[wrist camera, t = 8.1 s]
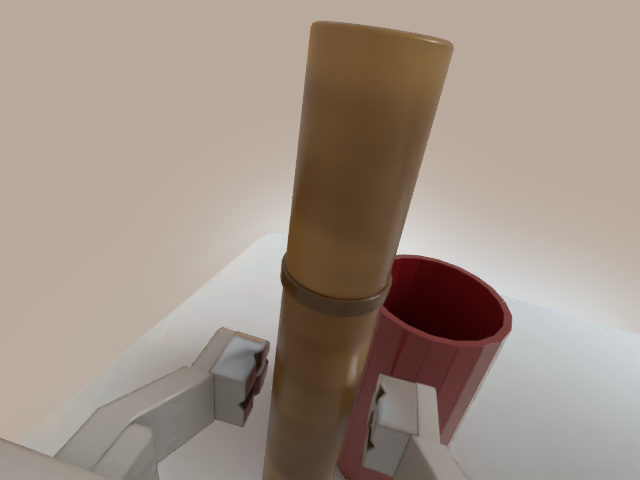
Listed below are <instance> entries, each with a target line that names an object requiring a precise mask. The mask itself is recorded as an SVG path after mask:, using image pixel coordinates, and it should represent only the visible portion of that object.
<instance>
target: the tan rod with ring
mask: <svg viewBox="0 0 640 480" xmlns="http://www.w3.org/2000/svg"><path fill="white" fill-rule="evenodd" d="M452 53H453V44H452V43H451V42H449V41H447V40H444V39H440V38H436V37H432V36H427V35H422V34H417V33H412V32H406V31H400V30H394V29H388V28H381V27H375V26H367V25H360V24H352V23H343V22H332V21H317V22H314V23H313V24H312V26H311V29H310V38H309V48H308V57H307V66H306V76H305V85H304V94H303V104H302V113H301V123H300V132H299V142H298V151H297V160H296V170H295V179H294V189H293V198H292V207H291V217H290V226H289V235H288V244H287V252H286V253H285V255H284V256H283V259H282V265H281V275H280V278H281V283H282V285H283V291H282V300H281V310H280V319H279V328H278V338H277V347H276V356H275V366H274V375H273V385H272V394H271V403H270V413H269V422H268V431H267V441H266V450H265V459H264V469H263V478H262V480H332V479H333V475H334V472H335V468H336V465H337V461H338V458H339V454H340V451H341V447H342V443H343V440H344V436H345V433H346V429H347V426H348V422H349V419H350V415H351V412H352V408H353V404H354V401H355V397H356V394H357V390H358V387H359V383H360V380H361V376H362V373H363V369H364V365H365V362H366V358H367V355H368V351H369V348H370V344H371V341H372V337H373V333H374V330H375V326H376V323H377V319H378V316H379V312H380V309H381V306H382V305H383V304H384V303H385V301H386V300H387V298H388V295H389V291H390V288H391V284H392V275H391V270H392V266H393V263H394V259H395V255H396V252H397V248H398V245H399V241H400V238H401V234H402V230H403V227H404V224H405V220H406V216H407V213H408V209H409V205H410V202H411V199H412V195H413V192H414V188H415V184H416V181H417V177H418V173H419V170H420V167H421V163H422V160H423V156H424V152H425V149H426V145H427V141H428V138H429V135H430V131H431V128H432V124H433V120H434V117H435V114H436V110H437V106H438V103H439V99H440V96H441V92H442V89H443V85H444V81H445V78H446V75H447V71H448V67H449V64H450V60H451V57H452Z"/></svg>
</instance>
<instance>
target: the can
mask: <svg viewBox="0 0 640 480" xmlns="http://www.w3.org/2000/svg"><path fill="white" fill-rule="evenodd" d="M391 275H392V284H391V288H390V291H389V295H388V298H387V300H386V301H385V303H384V304H383V305H382V306H381V309H380V312H379V316H378V319H377V323H376V326H375V330H374V333H373V337H372V341H371V344H370V348H369V351H368V355H367V358H366V362H365V365H364V369H363V373H362V376H361V380H360V383H359V387H358V390H357V394H356V397H355V401H354V404H353V408H352V412H351V415H350V419H349V422H348V426H347V429H346V433H345V436H344V440H343V443H342V447H341V451H340V454H339V458H338V461H337V466H338V468H339V469H340V471H341V472H342V473H343V474H344V476H345V477H346V478H347V479H348V480H393V478H394V477H392V476H389V475H386V474H383V473H380V472H378V471H375V470H372V469H369V468H366V467H364V466H362V460H363V451H364V443H365V439H366V436H367V433H368V428H367V420H368V413H369V408H370V404H371V400H372V396H373V393H374V392H375V391H376V386H377V380H378V377H379V375H380V373H384V374H388V375H392V376H395V377H399V378H403V379H406V380H410V381H414V382H415V383H416V382H417V383H421V384H424V385H428V386H431V387H434V388H435V390H436V395H437V409H438V422H439V435H440V444H443V445H446V446H447V448H448V449H449V447H450V445H451V443H452V441H453V439H454V437H455V435H456V434H457V432H458V430H459V428H460V426H461V424H462V422H463V420H464V418H465V417H466V415H467V413H468V411H469V409H470V407H471V405H472V403H473V402H474V400H475V398H476V396H477V394H478V392H479V390H480V388H481V387H482V385H483V383H484V381H485V379H486V377H487V375H488V373H489V371H490V370H491V368H492V366H493V364H494V362H495V360H496V358H497V356H498V355H499V353H500V351H501V349H502V347H503V345H504V343H505V341H506V339H507V338H508V336H509V334H510V332H511V328H512V315H511V313H510V311H509V309H508V306H507V304H506V302H505V301H504V300H503V299H502V298H501V297H500V295H499V294H498V293H497V292H496V291H495V290H494V289H493V288H492V287H491V286H489V285H488V284H487V283H485V282H484V281H482V280H481V279H480V278H478V277H477V276H475V275H473V274H471V273H470V272H468V271H466V270H464V269H462V268H460V267H457V266H455V265H452V264H449V263H447V262H444V261H441V260H438V259H434V258H429V257H424V256H419V255H395V259H394V263H393V266H392V270H391Z"/></svg>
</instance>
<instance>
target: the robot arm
mask: <svg viewBox="0 0 640 480" xmlns="http://www.w3.org/2000/svg"><path fill="white" fill-rule="evenodd" d="M269 350H270V342H269V341H267V340H263V339H260V338H257V337H254V336H250V335H247V334H244V333H241V332H237V331H234V330H230V329H227V328H224V327H222V328H220V329H219V330H217V332H216V333H215V334H214V336H213V337H212V339H211V340H210V341H209V343H208V344H207V345H206V347H205V348H204V349H203V351H202V352H201V354H200V355H199V356H198V358H197V359H196V360H195V362H194V363H193V364H192V366H191V367H188V366H184V367H182V368H180V369H178V370H176V371H174V372H172V373H170V374H168V375H166V376H164V377H162V378H160V379H158V380H156V381H153V382H151V383H149V384H147V385H145V386H143V387H141V388H139V389H137V390H135V391H133V392H131V393H129V394H127V395H125V396H123V397H120V398H118V399H116V400H114V401H112V402H110V403H108V404H106V405H104V406H102V407H100V408H98V409H97V410H96V411H95V412H94V413H93V414H92V415H91V417H90V418H89V419H88V420H87V421H86V422H85V423H84V424H83V425H82V426H81V427H80V429H79V430H78V431H77V432H76V433H75V434H74V435H73V436H72V437H71V438H70V439H69V441H68V442H67V443H66V444H65V445H64V446H63V447H62V448H61V449H60V450H59V451H58V453H57V454H56V455H55V456H54V457H51V456H48V455H45V454H43V453H40V452H37V451H34V450H32V449H29V448H26V447H24V446H21V445H18V444H15V443H13V442H10V441H7V440H4V439H1V438H0V480H159V475H158V469H157V463H159V462H160V461H161V460H163V459H164V458H165V457H167V456H168V455H169V454H171V453H172V452H173V451H175V450H176V449H177V448H179V447H180V446H181V445H183V444H184V443H186V442H187V441H188V440H190V439H191V438H192V437H194V436H195V435H196V434H198V433H199V432H200V431H202V430H203V429H204V428H206V427H207V426H208V425H210V424H211V423H212V422H214V419H216V420H219V421H223V422H226V423H230V424H233V425H237V426H240V427H244V425H245V422H246V420H247V418H248V416H249V414H250V412H251V410H252V408H253V400H254V396H256V395H257V394H259V393H260V390H261V388H262V386H263V383H264V380H265V377H266V374H267V369H268V360H267V358H266V357H267V355H268V353H269ZM367 428H368V433H367V436H366V439H365V443H364V451H363V460H362V466H364V467H366V468H369V469H372V470H375V471H378V472H380V473H383V474H386V475H389V476H392V477H394V478H393V480H468V479H467V477H466V476H465V474H464V473H463V471H462V470H461V468H460V466H459V465H458V463H457V462H456V460H455V459H454V457H453V456H452V454H451V452H450V451H449V449H448V448H447V446H446V445H443V444H440V435H439V422H438V409H437V395H436V390H435V388H434V387H431V386H428V385H424V384H421V383H417V382H416V383H415V382H414V381H410V380H406V379H403V378H399V377H395V376H392V375H388V374H384V373H380V375H379V377H378V380H377V386H376V391H375V392H374V393H373V396H372V400H371V404H370V408H369V413H368V420H367Z"/></svg>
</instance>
